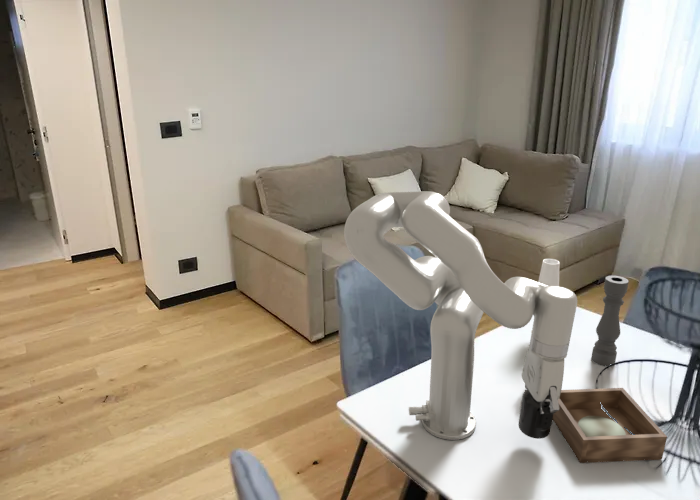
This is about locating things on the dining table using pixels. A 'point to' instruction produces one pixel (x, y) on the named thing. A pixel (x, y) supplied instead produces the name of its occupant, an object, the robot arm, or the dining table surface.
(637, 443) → the walnut box
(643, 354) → the dining table surface
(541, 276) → the champagne flute
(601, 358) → the candle holder
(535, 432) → the supplement bottle
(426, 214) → the robot arm
